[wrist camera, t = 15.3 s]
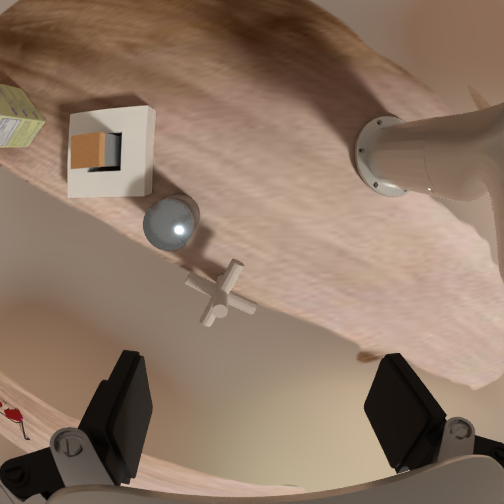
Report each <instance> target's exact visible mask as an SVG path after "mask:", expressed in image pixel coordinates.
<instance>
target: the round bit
mask: <svg viewBox="0 0 504 504" xmlns="http://www.w3.org/2000/svg"><path fill="white" fill-rule="evenodd" d="M199 219H200V211H199V207H198V205H197V203H196V202H195V201H194V199H192V198H191V197H190V196H188V195H185V194H173V195H171V196H169V197H167V198H165V199H163V200H161V201H159V202H157V203H155V204H153V205H152V206H151V207H150V208H149V209H148V210H147V212H146V214H145V216H144V220H143V229H144V233H145V236H146V238H147V239H148V241H149V242H150V243H151V244H152V245H153V246H155V247H157V248H158V249H161V250H166V251H171V250H176V249H178V248H180V247H182V246H183V245H185V244H186V243H187V241H188V240H189V238H190V237H191V235H192V233H193V231H194V230H195V228H196V226H197V224H198V222H199Z"/></svg>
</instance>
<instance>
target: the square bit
mask: <svg viewBox="0 0 504 504" xmlns="http://www.w3.org/2000/svg"><path fill="white" fill-rule="evenodd" d="M121 146H122V136H117V135H113V134H108V133H103V132H94V133H87V134H80V135H74V136H71V169H81V168H95V167H110V166H121Z"/></svg>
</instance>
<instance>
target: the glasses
mask: <svg viewBox="0 0 504 504" xmlns="http://www.w3.org/2000/svg"><path fill="white" fill-rule="evenodd" d="M0 407H2V403H1V402H0ZM4 412H5V415H6V417H7V418H8V419H9V418H10V420H11V419H13V420H16V421H20V422H21V423H22V428H23V434H24V438H25V439H26V440H30V439H29V438H26V437H25V432H24V427H23V422H22V419H23V417H22V415H21V413H20V412H19V411H18V410H17V409H11V410H9V408H8V409H6V410H4ZM0 413H1V412H0ZM1 414H2V413H1ZM3 415H4V414H3ZM5 415H4V416H5ZM11 421H12V420H11ZM13 422H14V421H13ZM20 422H15V423H20Z"/></svg>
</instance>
